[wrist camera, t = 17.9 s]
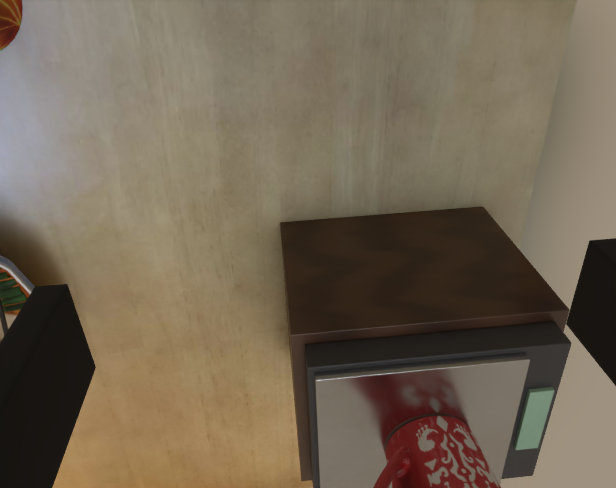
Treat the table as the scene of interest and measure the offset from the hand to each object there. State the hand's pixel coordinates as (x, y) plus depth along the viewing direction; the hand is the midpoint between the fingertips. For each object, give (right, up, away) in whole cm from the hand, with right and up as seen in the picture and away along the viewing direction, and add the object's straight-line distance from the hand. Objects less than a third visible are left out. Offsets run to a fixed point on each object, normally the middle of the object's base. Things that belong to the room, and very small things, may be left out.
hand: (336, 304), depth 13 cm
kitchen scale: (+9, -12, +31) cm, 35 cm away
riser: (+8, -3, +47) cm, 47 cm away
